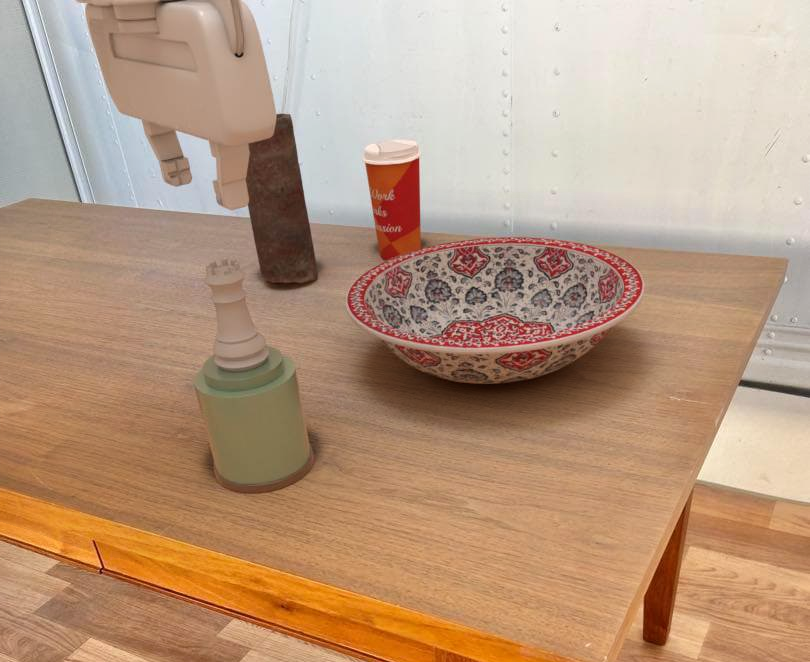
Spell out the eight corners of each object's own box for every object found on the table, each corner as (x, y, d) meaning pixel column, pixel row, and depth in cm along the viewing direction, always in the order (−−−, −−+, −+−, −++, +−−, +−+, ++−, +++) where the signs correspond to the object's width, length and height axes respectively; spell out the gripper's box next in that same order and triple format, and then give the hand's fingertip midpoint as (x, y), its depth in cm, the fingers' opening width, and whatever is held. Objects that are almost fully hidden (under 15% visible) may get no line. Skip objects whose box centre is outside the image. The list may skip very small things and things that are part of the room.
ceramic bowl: (306, 411, 82) (293, 334, 78) (413, 298, 103) (408, 231, 99) (607, 448, 72) (613, 362, 68) (658, 314, 94) (665, 242, 89)
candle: (282, 296, 108) (251, 125, 96) (250, 283, 112) (218, 119, 100) (329, 278, 112) (306, 111, 99) (297, 266, 116) (271, 106, 104)
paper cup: (364, 252, 118) (352, 145, 110) (414, 241, 120) (406, 135, 112) (385, 268, 113) (374, 156, 104) (437, 256, 115) (431, 145, 106)
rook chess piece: (225, 350, 71) (203, 255, 66) (276, 349, 70) (258, 253, 66) (208, 374, 68) (184, 276, 63) (261, 373, 67) (241, 274, 62)
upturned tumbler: (221, 502, 71) (194, 395, 65) (209, 452, 78) (183, 351, 72) (323, 478, 72) (305, 372, 66) (303, 431, 79) (285, 331, 73)
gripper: (279, -43, 47) (315, 211, 56) (143, -39, 61) (188, 164, 69) (175, -30, 45) (229, 235, 53) (57, -29, 58) (114, 181, 67)
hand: (205, 194), depth 61 cm, fingers open, 8 cm apart
